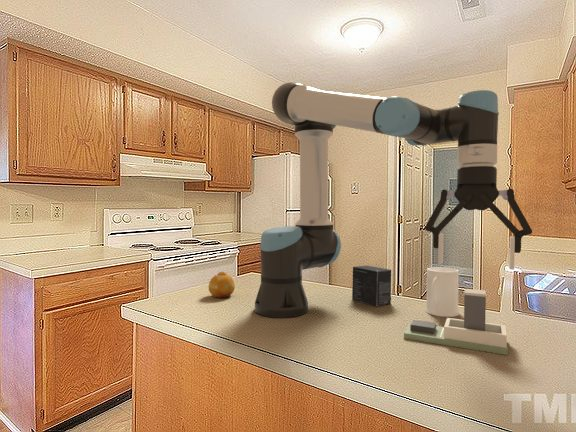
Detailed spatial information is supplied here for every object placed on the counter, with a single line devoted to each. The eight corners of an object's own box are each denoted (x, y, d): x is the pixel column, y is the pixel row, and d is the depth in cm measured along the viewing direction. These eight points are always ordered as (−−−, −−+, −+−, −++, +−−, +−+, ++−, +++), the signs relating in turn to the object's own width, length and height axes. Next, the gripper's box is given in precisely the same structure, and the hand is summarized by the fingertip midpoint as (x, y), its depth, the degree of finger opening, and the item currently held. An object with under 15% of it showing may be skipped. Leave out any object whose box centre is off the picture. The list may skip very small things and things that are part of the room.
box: (391, 303, 112) (392, 269, 112) (376, 307, 108) (377, 271, 108) (366, 296, 121) (366, 264, 120) (351, 299, 117) (351, 266, 117)
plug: (463, 338, 79) (464, 292, 79) (464, 333, 83) (465, 288, 83) (485, 342, 78) (485, 294, 77) (484, 335, 81) (485, 290, 81)
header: (443, 338, 80) (444, 326, 80) (446, 328, 86) (447, 317, 86) (506, 347, 74) (506, 335, 74) (504, 336, 81) (505, 325, 81)
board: (404, 338, 83) (404, 326, 83) (410, 327, 91) (410, 316, 90) (507, 355, 74) (507, 342, 74) (505, 341, 81) (505, 329, 81)
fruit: (225, 284, 128) (217, 266, 124) (242, 289, 124) (235, 271, 120) (209, 300, 123) (200, 282, 119) (226, 306, 118) (218, 288, 114)
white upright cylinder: (445, 322, 95) (446, 275, 94) (414, 314, 101) (414, 270, 100) (464, 312, 103) (464, 269, 102) (434, 306, 109) (434, 265, 108)
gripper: (412, 167, 82) (411, 263, 82) (550, 162, 70) (547, 274, 71) (418, 170, 88) (416, 259, 89) (545, 165, 77) (542, 267, 77)
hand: (474, 265), depth 80 cm, fingers open, 13 cm apart
